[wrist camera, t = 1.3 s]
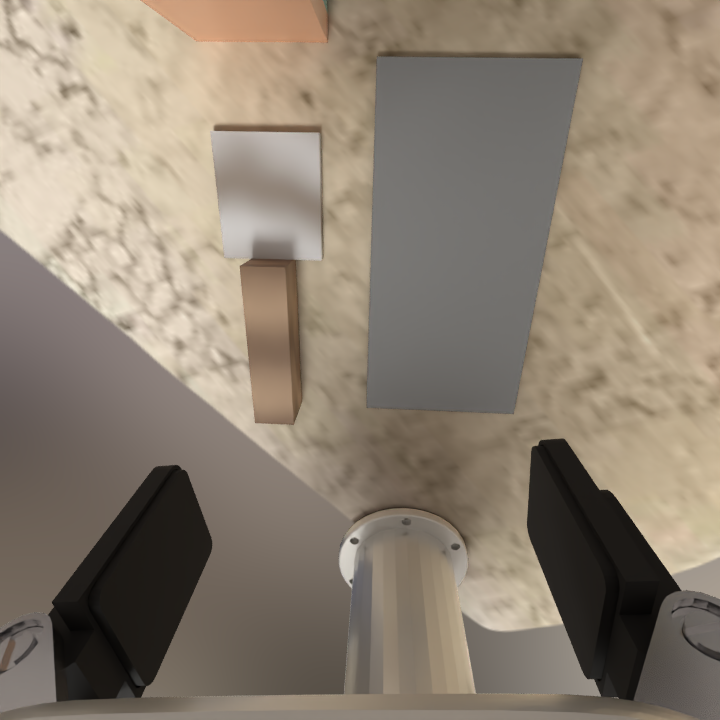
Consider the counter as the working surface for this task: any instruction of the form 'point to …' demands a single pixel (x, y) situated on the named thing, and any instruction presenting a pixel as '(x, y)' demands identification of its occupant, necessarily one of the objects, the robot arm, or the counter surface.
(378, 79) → the mat
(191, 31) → the kitchen sponge
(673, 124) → the counter surface
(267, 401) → the turner
